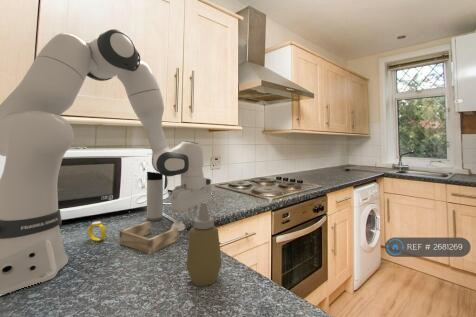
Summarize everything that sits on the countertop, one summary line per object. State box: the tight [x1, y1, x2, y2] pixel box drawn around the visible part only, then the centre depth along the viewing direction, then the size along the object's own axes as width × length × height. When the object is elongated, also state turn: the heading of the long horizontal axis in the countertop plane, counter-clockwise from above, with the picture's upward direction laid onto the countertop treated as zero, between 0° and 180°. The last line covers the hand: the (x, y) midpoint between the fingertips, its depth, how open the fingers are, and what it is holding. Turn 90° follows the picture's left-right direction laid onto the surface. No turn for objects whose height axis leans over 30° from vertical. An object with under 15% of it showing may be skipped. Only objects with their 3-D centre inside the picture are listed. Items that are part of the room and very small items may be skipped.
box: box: [119, 220, 179, 255], centre depth 75 cm, size 11×14×4 cm
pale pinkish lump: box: [170, 220, 186, 232], centre depth 86 cm, size 5×3×5 cm
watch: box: [87, 220, 107, 242], centre depth 76 cm, size 6×3×6 cm, turn 73°
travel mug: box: [146, 171, 164, 222], centre depth 97 cm, size 6×7×20 cm
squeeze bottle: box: [186, 202, 222, 287], centre depth 54 cm, size 8×8×18 cm
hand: (193, 216), depth 93 cm, fingers closed
